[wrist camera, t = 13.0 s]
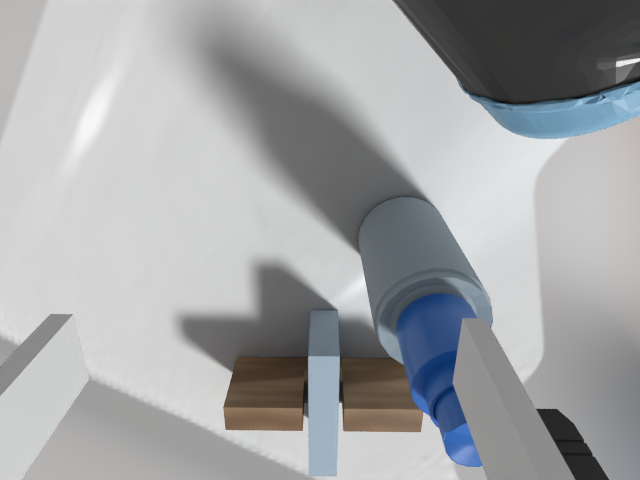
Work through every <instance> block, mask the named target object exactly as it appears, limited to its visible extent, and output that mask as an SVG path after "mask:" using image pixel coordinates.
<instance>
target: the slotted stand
mask: <svg viewBox="0 0 640 480" xmlns="http://www.w3.org/2000/svg"><path fill="white" fill-rule="evenodd" d="M304 402H307V403H308V357H237V359H236V363H235V366H234V370H233V374H232V377H231V381H230V385H229V389H228V392H227V396H226V400H225V403H224V407H223V408H224V418H225V428H226V430H281V431H303V415H304ZM339 403H342V408H343V430H344V431H369V432H421V426H422V418H423V411H422V410H420V409H419V408H418V406H417V405H416V404H415V402H414V401H413V399H412V395H411V391H410V387H409V383H408V379H407V375H406V371H405V367H404V365H403V364H401V363H400V362H398V361H397V360H395V359H394V358H340V372H339Z"/></svg>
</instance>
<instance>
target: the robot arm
mask: <svg viewBox="0 0 640 480" xmlns="http://www.w3.org/2000/svg"><path fill="white" fill-rule="evenodd" d="M392 1H393V2H394V3H395V4H396V5H397V7H398V8H399V9H400V10H401V11H402V13H403V14H404V15H405V16H406V17H407V19H408V20H409V21H410V22H411V24H412V25H413V26H414V27H415V28H416V30H417V31H418V32H419V33H420V34H421V36H422V37H423V38H424V39H425V40H426V42H427V43H428V44H429V45H430V46H431V48H432V49H433V50H434V51H435V52H436V54H437V55H438V56H439V57H440V58H441V60H442V61H443V62H444V63H445V65H446V66H447V67H448V68H449V69H450V71H451V72H452V73H453V74H454V75H455V77H456V78H457V81H458V83H459V85H460V87H461V88H462V90H463V91H464V92H465V93H466V94H468V95H469V96H470V97H471V99H473V100H475V101H476V102H478V103H480V104H481V105H482V106H483V107H484V108H485V109H486V110H487V111H488V112H489V114H490V115H491V116H492V117H493V118H494V119H495V120H496V121H497V122H498V123H499V124H500V125H501V126H503V127H504V128H506V129H507V130H509V131H511V132H513V133H515V134H518V135H521V136H525V137H529V138H537V139H557V138H566V137H572V136H578V135H582V134H587V133H591V132H595V131H599V130H602V129H605V128H608V127H611V126H614V125H617V124H619V123H622V122H624V121H627V120H629V119H632V118H634V117H636V116H638V115H640V0H392ZM88 380H89V376H88V372H87V368H86V364H85V360H84V356H83V352H82V348H81V344H80V340H79V336H78V332H77V328H76V324H75V320H74V316H73V314H50V315H49V316H48V317H47V318H46V319H45V320H44V321H43V322H42V324H41V325H40V326H39V327H38V328H37V329H36V330H35V331H34V332H33V333H32V334H31V335H30V336H29V337H28V338H27V339H26V340H25V341H24V342H23V343H22V344H21V345H20V346H19V347H18V348H17V349H16V350H15V351H14V353H13V354H12V355H11V356H10V357H9V358H8V359H7V360H6V361H5V362H4V363H3V364H2V365H1V366H0V480H21V479H22V477H23V476H24V474H25V473H26V471H27V470H28V469H29V467H30V466H31V464H32V462H33V461H34V460H35V458H36V457H37V455H38V454H39V452H40V451H41V449H42V448H43V446H44V445H45V443H46V442H47V441H48V439H49V438H50V436H51V435H52V433H53V432H54V430H55V429H56V427H57V426H58V424H59V423H60V421H61V420H62V418H63V417H64V415H65V414H66V412H67V411H68V409H69V408H70V407H71V405H72V404H73V402H74V401H75V399H76V398H77V396H78V395H79V393H80V392H81V390H82V389H83V387H84V386H85V384H86V383H87V381H88ZM453 386H454V388H455V391H456V394H457V397H458V399H459V402H460V405H461V408H462V410H463V413H464V416H465V419H466V421H467V424H468V427H469V430H470V432H471V435H472V438H473V441H474V443H475V446H476V449H477V452H478V454H479V457H480V460H481V463H482V465H483V468H484V471H485V474H486V476H487V479H488V480H609V479H608V477H607V476H606V474H605V473H604V471H603V469H602V468H601V466H600V465H599V463H598V462H597V460H596V458H595V457H593V456H592V452H591V450H590V449H589V447H588V446H587V444H586V443H584V439H583V438H582V436H581V435H580V433H579V432H578V430H577V428H576V427H575V425H574V424H573V423H572V422H571V421H570V420H569V419H568V418H567V417H565V416H564V415H563V414H562V413H561V412H560V411H559V410H557V409H535V407H534V405H533V403H532V401H531V399H530V398H529V396H528V394H527V392H526V390H525V389H524V387H523V385H522V383H521V381H520V380H519V378H518V376H517V374H516V372H515V371H514V369H513V367H512V365H511V364H510V362H509V360H508V358H507V356H506V355H505V353H504V351H503V349H502V347H501V346H500V344H499V342H498V340H497V338H496V337H495V335H494V333H493V331H492V330H491V328H490V326H489V324H488V322H487V321H486V319H485V318H462V324H461V331H460V337H459V344H458V350H457V357H456V363H455V370H454V377H453Z"/></svg>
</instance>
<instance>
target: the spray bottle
mask: <svg viewBox="0 0 640 480" xmlns="http://www.w3.org/2000/svg"><path fill="white" fill-rule="evenodd" d="M358 243H359V249H360V254H361V259H362V265H363V270H364V275H365V281H366V286H367V291H368V297H369V302H370V307H371V313H372V318H373V323H374V327H375V331H376V335H377V338H378V340H379V341H380V342H381V345H382V346H383V348H384V349H385V350H386V352H387V353H388V354H389V356H391V357H392V358H394V359H395V360H397V361H398V362H400V363H401V364H403V365H404V367H405V371H406V375H407V379H408V383H409V387H410V391H411V395H412V399H413V401H414V402H415V404H416V405H417V406H418V408H419V409H420V410H422V411H423V412H425V413H426V414H428V415H429V416H430V417H431V420H432V421H433V422H434V424H435V425H436V426H437V427H438V428H439V430H440V433H441V436H442V440H443V443H444V446H445V450H446V453H447V454H448V456H449V457H450V459H451V460H453V461H454V462H456V463H457V464H460V465H464V466H468V467H480V466H483V465H482V463H481V460H480V457H479V454H478V452H477V449H476V446H475V443H474V441H473V438H472V435H471V432H470V430H469V427H468V424H467V421H466V419H465V416H464V413H463V410H462V408H461V405H460V402H459V399H458V397H457V394H456V391H455V388H454V386H453V377H454V370H455V363H456V357H457V350H458V344H459V337H460V331H461V324H462V318H485V319H486V321H487V322H488V324H489V326H490V328H491V326H492V323H493V317H492V307H491V302H490V298H489V296H488V294H487V292H486V290H485V289H484V287H483V285H482V283H481V282H480V280H479V278H478V277H477V275H476V273H475V272H474V270H473V268H472V267H471V265H470V263H469V262H468V260H467V258H466V257H465V255H464V253H463V252H462V250H461V248H460V247H459V245H458V243H457V241H456V240H455V238H454V236H453V235H452V233H451V231H450V230H449V228H448V226H447V225H446V223H445V221H444V220H443V218H442V216H441V215H440V213H439V211H438V210H437V209H436V208H434V207H433V206H432V205H431V204H430V203H428V202H426V201H423V200H421V199H418V198H414V197H398V198H394V199H390V200H387V201H385V202H383V203H381V204H380V205H378V206H376V207H375V208H374V209H373V210H372V211H371V212H370V213H369V214H368V215H367V216H366V217H365V219H364V221H363V223H362V225H361V227H360V229H359V238H358Z"/></svg>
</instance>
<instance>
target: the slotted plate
mask: <svg viewBox="0 0 640 480" xmlns="http://www.w3.org/2000/svg"><path fill="white" fill-rule="evenodd" d="M339 372H340V347H339V326H338V310H310V330H309V349H308V413H309V476H337V444H338V408H339Z"/></svg>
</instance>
